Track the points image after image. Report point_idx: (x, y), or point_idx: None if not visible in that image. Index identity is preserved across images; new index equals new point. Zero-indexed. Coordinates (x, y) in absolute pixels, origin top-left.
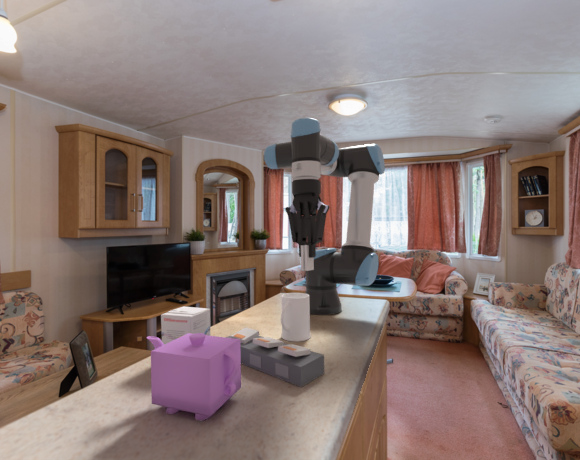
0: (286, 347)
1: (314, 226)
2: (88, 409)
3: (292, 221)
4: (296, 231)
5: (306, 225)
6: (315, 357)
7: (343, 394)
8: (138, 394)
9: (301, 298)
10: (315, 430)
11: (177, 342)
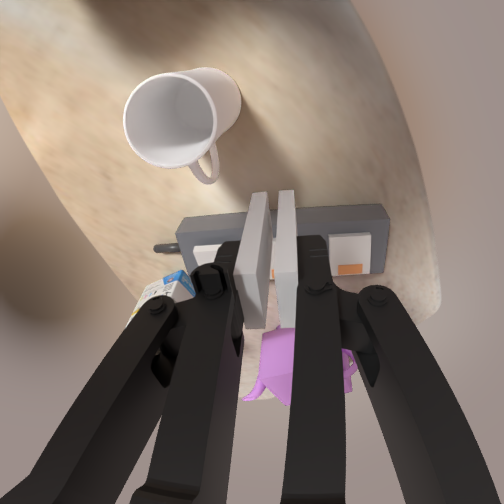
0: (346, 273)
1: (341, 425)
2: (242, 375)
3: (129, 471)
4: (158, 393)
5: (213, 431)
6: (383, 236)
7: (428, 234)
8: (244, 353)
9: (215, 134)
10: (427, 296)
11: (282, 392)
